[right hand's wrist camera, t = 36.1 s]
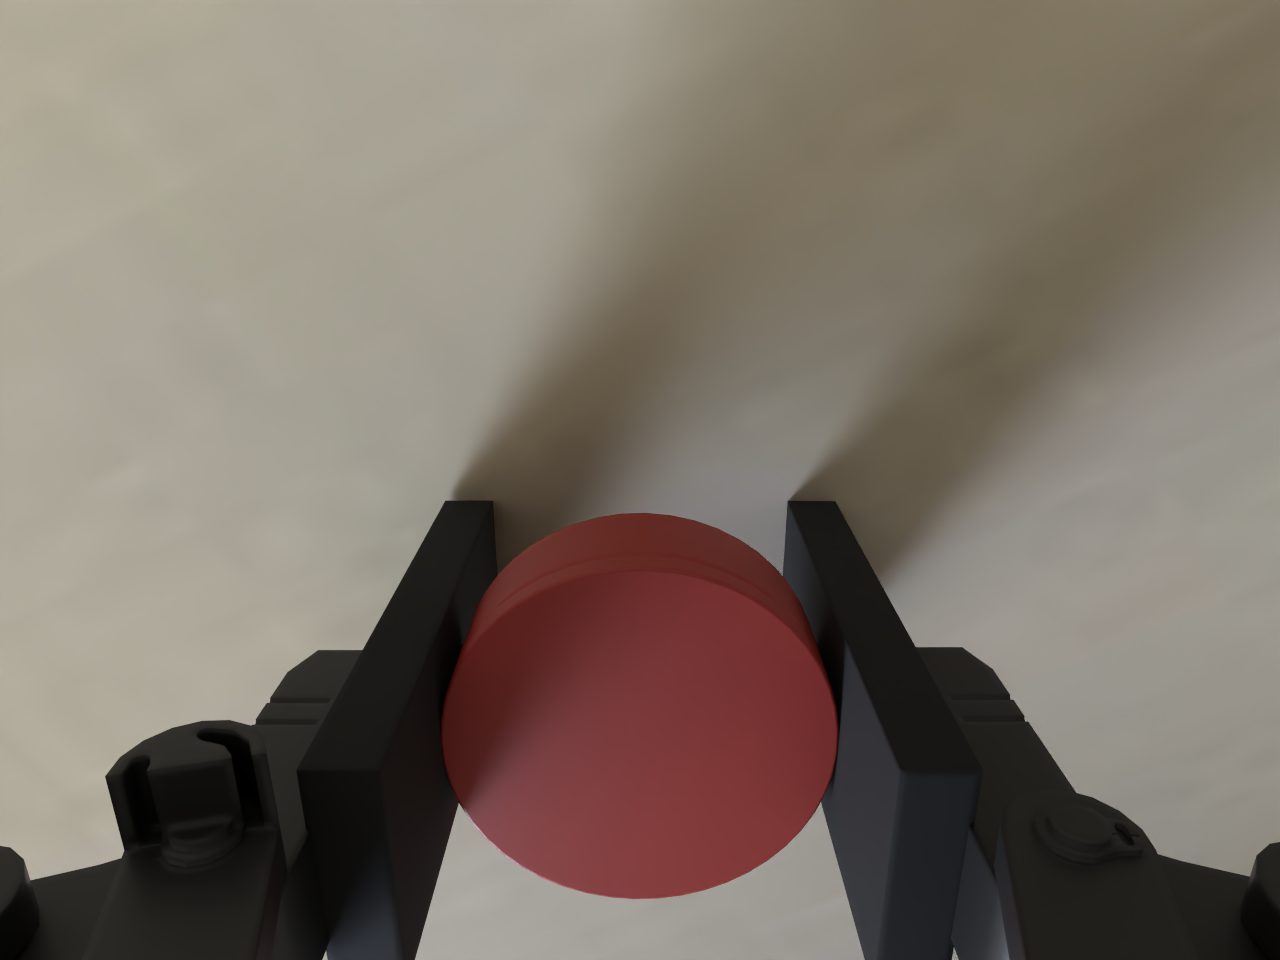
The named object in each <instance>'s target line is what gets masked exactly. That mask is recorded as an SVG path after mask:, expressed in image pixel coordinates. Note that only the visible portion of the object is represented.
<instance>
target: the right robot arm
mask: <svg viewBox="0 0 1280 960" xmlns="http://www.w3.org/2000/svg"><path fill="white" fill-rule="evenodd" d="M496 577H497V562H496V546H495V530H494V514H493V501H445V503H444V505H443V506H442V508H441V510H440V512H439V514H438V515H437V517H436V519H435V521H434V523H433V524H432V526H431V528H430V530H429V532H428V533H427V535H426V537H425V539H424V541H423V542H422V544H421V546H420V548H419V550H418V551H417V553H416V555H415V557H414V559H413V560H412V562H411V564H410V566H409V568H408V569H407V571H406V573H405V575H404V577H403V578H402V580H401V582H400V584H399V586H398V587H397V589H396V591H395V593H394V595H393V596H392V598H391V600H390V602H389V604H388V606H387V607H386V609H385V611H384V613H383V615H382V616H381V618H380V620H379V622H378V624H377V625H376V627H375V629H374V631H373V633H372V634H371V636H370V638H369V640H368V642H367V643H366V645H365V647H364V649H363V650H318V651H317V652H315V653H314V654H312V655H311V656H310V657H308V658H307V659H305V660H304V661H303V662H301V663H300V664H298V665H297V666H296V667H294V668H293V669H292V670H290V671H289V672H287V674H286V675H285V677H284V678H283V680H282V681H281V683H280V684H279V686H278V687H277V689H276V690H275V692H274V693H273V695H272V696H271V698H270V703H267V704H266V705H265V707H264V708H263V710H262V711H261V713H260V714H259V716H258V717H257V719H256V724H255V725H252V726H250V725H246V724H242V723H238V722H235V721H231V720H220V721H200V722H196V723H192V724H187V725H183V726H179V727H175V728H171V729H169V730H167V731H164V732H162V733H160V734H158V735H155V736H153V737H151V738H149V739H146V740H144V741H142V742H141V743H140V744H138V745H137V746H135V747H134V748H133V749H131V750H130V751H128V752H127V753H126V754H124V755H123V756H121V757H120V758H119V759H118V761H117V762H116V763H115V765H114V766H113V767H112V768H111V770H110V771H109V772H108V774H107V775H106V776H105V778H106V781H107V785H108V789H109V793H110V797H111V801H112V804H113V808H114V812H115V816H116V820H117V824H118V827H119V831H120V835H121V839H122V843H123V846H124V850H125V851H124V853H123V856H122V858H121V859H117V860H114V861H111V862H107V863H104V864H101V865H97V866H92V867H88V868H84V869H79V870H75V871H70V872H66V873H62V874H57V875H53V876H48V877H44V878H40V879H35V880H31V881H30V878H29V875H28V871H27V868H26V865H25V862H24V859H23V858H22V857H20V856H19V855H18V854H17V853H16V852H15V851H14V850H12V849H11V848H9V847H3V846H0V960H322V959H323V956H324V954H325V951H326V952H327V958H328V960H415V957H416V953H417V950H418V946H419V943H420V939H421V935H422V932H423V928H424V925H425V921H426V918H427V914H428V910H429V907H430V903H431V900H432V896H433V893H434V889H435V885H436V882H437V878H438V875H439V871H440V868H441V864H442V860H443V857H444V853H445V850H446V846H447V843H448V839H449V836H450V832H451V828H452V825H453V821H454V818H455V814H456V811H457V807H458V803H459V801H458V799H457V797H456V795H455V793H454V791H453V789H452V786H451V784H450V782H449V778H448V775H447V771H446V768H445V765H444V761H443V753H442V745H441V715H442V710H443V704H444V699H445V695H446V692H447V689H448V686H449V683H450V681H451V678H452V675H453V672H454V669H455V666H456V664H457V661H458V658H459V655H460V652H461V649H462V647H463V644H464V641H465V638H466V635H467V633H468V630H469V627H470V624H471V621H472V618H473V616H474V613H475V610H476V608H477V606H478V605H479V603H480V601H481V599H482V597H483V595H484V593H485V592H486V590H487V589H488V588H489V586H490V585H491V584H492V582H493V581H494V579H495V578H496ZM783 578H784V579H785V580H786V581H787V582H788V583H789V585H790V587H791V588H792V590H793V591H794V593H795V594H796V596H797V598H798V599H799V601H800V603H801V605H802V607H803V610H804V612H805V614H806V616H807V619H808V621H809V624H810V627H811V630H812V633H813V635H814V638H815V641H816V644H817V647H818V650H819V652H820V655H821V658H822V661H823V664H824V667H825V670H826V672H827V675H828V678H829V681H830V684H831V687H832V690H833V694H834V698H835V702H836V705H837V713H838V722H839V740H838V752H837V757H836V762H835V767H834V771H833V774H832V777H831V780H830V782H829V785H828V788H827V790H826V793H825V795H824V797H823V798H822V800H821V803H822V807H823V811H824V814H825V818H826V821H827V825H828V829H829V832H830V836H831V839H832V843H833V847H834V850H835V854H836V857H837V861H838V864H839V868H840V872H841V875H842V879H843V882H844V886H845V890H846V893H847V897H848V900H849V904H850V908H851V911H852V915H853V918H854V922H855V926H856V929H857V933H858V936H859V940H860V944H861V947H862V951H863V954H864V958H865V960H952V954H953V948H955V950H956V953H957V956H958V958H959V960H1280V842H1278V843H1272V844H1269V845H1268V846H1267V847H1266V848H1265V849H1264V850H1262V851H1261V852H1260V853H1259V854H1258V855H1257V856H1256V859H1255V862H1254V866H1253V869H1252V872H1251V875H1250V877H1248V876H1244V875H1240V874H1235V873H1231V872H1226V871H1222V870H1218V869H1213V868H1209V867H1204V866H1200V865H1196V864H1191V863H1187V862H1182V861H1179V860H1176V859H1172V858H1169V857H1165V856H1162V855H1159V854H1157V852H1156V849H1155V848H1154V846H1153V845H1152V843H1151V842H1150V840H1149V839H1148V837H1147V836H1146V834H1145V833H1144V831H1143V830H1142V829H1141V828H1140V827H1139V826H1137V825H1136V824H1135V823H1134V822H1132V821H1131V820H1130V819H1129V818H1128V817H1126V816H1125V815H1124V814H1123V813H1121V812H1120V811H1119V810H1117V809H1115V808H1113V807H1110V806H1108V805H1106V804H1104V803H1102V802H1100V801H1098V800H1096V799H1094V798H1092V797H1089V796H1085V795H1081V794H1077V793H1076V792H1075V790H1074V789H1073V787H1072V786H1071V784H1070V783H1069V781H1068V780H1067V778H1066V777H1065V776H1064V774H1063V773H1062V771H1061V770H1060V768H1059V767H1058V765H1057V764H1056V762H1055V761H1054V759H1053V758H1052V756H1051V755H1050V753H1049V752H1048V750H1047V749H1046V747H1045V746H1044V744H1043V743H1042V741H1041V740H1040V739H1039V737H1038V736H1037V734H1036V733H1035V731H1034V730H1033V728H1032V727H1031V725H1030V724H1029V722H1025V720H1024V715H1023V713H1022V712H1021V710H1020V709H1019V707H1018V706H1017V704H1016V703H1015V702H1014V700H1010V694H1009V693H1008V691H1007V690H1006V688H1005V687H1004V685H1003V684H1002V682H1001V681H1000V679H999V678H998V676H997V675H996V673H995V672H994V670H993V669H992V668H990V667H989V666H987V665H986V664H985V663H983V662H982V661H980V660H979V659H978V658H976V657H975V656H973V655H972V654H971V653H969V652H968V651H966V650H965V649H964V648H962V647H915V645H914V643H913V642H912V640H911V638H910V636H909V634H908V633H907V631H906V629H905V627H904V625H903V624H902V622H901V620H900V618H899V616H898V614H897V613H896V611H895V609H894V607H893V605H892V604H891V602H890V600H889V598H888V596H887V595H886V593H885V591H884V589H883V587H882V585H881V584H880V582H879V580H878V578H877V576H876V575H875V573H874V571H873V569H872V567H871V566H870V564H869V562H868V560H867V558H866V556H865V555H864V553H863V551H862V549H861V547H860V546H859V544H858V542H857V540H856V538H855V537H854V535H853V533H852V531H851V529H850V527H849V526H848V524H847V522H846V520H845V518H844V517H843V515H842V513H841V511H840V509H839V508H838V506H837V504H836V502H835V501H788V506H787V521H786V537H785V553H784V568H783Z"/></svg>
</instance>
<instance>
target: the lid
mask: <svg viewBox="0 0 1280 960" xmlns="http://www.w3.org/2000/svg"><path fill="white" fill-rule="evenodd" d="M838 740H839V722H838V713H837V705H836V702H835V698H834V694H833V690H832V687H831V684H830V681H829V678H828V675H827V672H826V670H825V667H824V664H823V661H822V658H821V655H820V652H819V650H818V647H817V644H816V641H815V638H814V635H813V633H812V630H811V627H810V624H809V621H808V619H807V616H806V614H805V612H804V610H803V607H802V605H801V603H800V601H799V599H798V598H797V596H796V594H795V593H794V591H793V590H792V588H791V587H790V585H789V583H788V582H787V581H786V580H785V579H784V578H783V576H782V575H781V574H780V573H779V572H778V570H777V569H776V568H775V567H774V566H773V565H772V564H771V563H770V562H768V561H767V560H766V559H765V558H764V557H763V556H762V555H761V554H759V553H758V552H757V551H755V550H754V549H753V548H751V547H750V546H748V545H747V544H745V543H744V542H742V541H741V540H739V539H737V538H735V537H733V536H731V535H729V534H727V533H725V532H723V531H721V530H719V529H717V528H714V527H712V526H709V525H706V524H703V523H700V522H697V521H694V520H690V519H685V518H681V517H676V516H671V515H661V514H650V513H632V514H617V515H611V516H604V517H597V518H594V519H590V520H587V521H583V522H579V523H576V524H573V525H570V526H568V527H566V528H563V529H561V530H558V531H556V532H554V533H551V534H550V535H548V536H546V537H545V538H543V539H541V540H539V541H538V542H536V543H534V544H532V545H531V546H530V547H528V548H527V549H526V550H524V551H523V552H522V553H521V554H519V555H518V556H517V557H515V558H514V559H513V560H512V561H511V562H510V563H509V564H508V565H507V566H506V567H505V568H504V569H503V570H502V571H501V572H500V573H499V574H498V575H497V577H496V578H495V579H494V581H493V582H492V584H491V585H490V586H489V588H488V589H487V590H486V592H485V593H484V595H483V597H482V599H481V601H480V603H479V605H478V606H477V608H476V610H475V613H474V616H473V618H472V621H471V624H470V627H469V630H468V633H467V635H466V638H465V641H464V644H463V647H462V649H461V652H460V655H459V658H458V661H457V664H456V666H455V669H454V672H453V675H452V678H451V681H450V683H449V686H448V689H447V692H446V695H445V699H444V704H443V710H442V715H441V745H442V753H443V761H444V765H445V768H446V771H447V775H448V778H449V782H450V784H451V786H452V789H453V791H454V793H455V795H456V797H457V799H458V801H459V803H460V805H461V807H462V808H463V810H464V811H465V813H466V814H467V816H468V817H469V819H470V820H471V822H472V823H473V824H474V825H475V826H476V828H477V829H478V830H479V831H480V832H481V833H482V835H483V836H484V837H485V838H486V839H487V840H488V841H489V842H490V843H492V844H493V845H494V846H495V847H496V848H497V849H498V850H499V851H500V852H502V853H503V854H504V855H506V856H507V857H508V858H510V859H511V860H513V861H514V862H516V863H517V864H518V865H520V866H521V867H523V868H525V869H527V870H529V871H531V872H532V873H534V874H536V875H538V876H540V877H542V878H544V879H547V880H549V881H552V882H554V883H556V884H559V885H561V886H564V887H567V888H571V889H574V890H578V891H581V892H585V893H589V894H595V895H601V896H606V897H615V898H628V899H652V898H665V897H673V896H680V895H685V894H690V893H694V892H698V891H703V890H706V889H709V888H712V887H715V886H718V885H721V884H724V883H726V882H729V881H731V880H733V879H735V878H737V877H739V876H741V875H744V874H746V873H748V872H750V871H751V870H753V869H754V868H756V867H758V866H759V865H761V864H763V863H764V862H766V861H767V860H769V859H770V858H771V857H773V856H774V855H775V854H776V853H778V852H779V851H780V850H781V849H783V848H784V847H785V846H786V845H787V844H788V843H789V842H790V841H791V840H792V839H793V838H794V837H795V836H796V835H797V834H798V833H799V832H800V831H801V830H802V829H803V827H804V826H805V825H806V823H807V822H808V821H809V819H810V818H811V817H812V815H813V814H814V813H815V811H816V809H817V807H818V806H819V804H820V802H821V800H822V798H823V797H824V795H825V793H826V790H827V788H828V785H829V782H830V780H831V777H832V774H833V771H834V767H835V762H836V757H837V752H838Z"/></svg>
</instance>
